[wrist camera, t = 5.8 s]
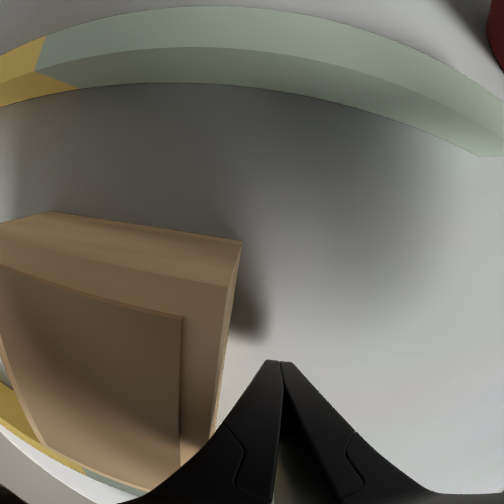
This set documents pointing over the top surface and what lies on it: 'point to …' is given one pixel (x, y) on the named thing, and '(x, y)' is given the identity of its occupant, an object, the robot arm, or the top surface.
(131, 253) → the box
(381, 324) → the top surface
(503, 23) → the mug
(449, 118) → the bay
